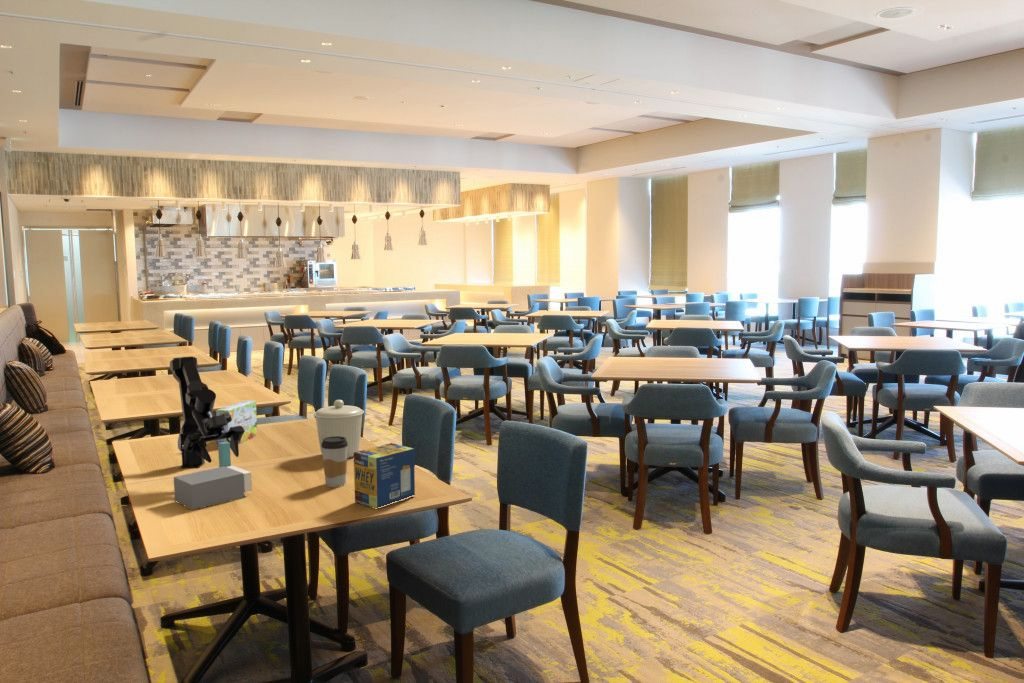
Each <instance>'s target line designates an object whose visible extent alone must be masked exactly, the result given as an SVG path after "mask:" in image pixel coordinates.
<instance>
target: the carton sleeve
mask: <svg viewBox="0 0 1024 683" xmlns="http://www.w3.org/2000/svg"><path fill="white" fill-rule="evenodd" d="M173 487H174V488H173V490H174V491H173V492H174V502H175V501H177V502H179V503H181V504H183V505H185V506H187V507H189V508H188V509H190V508H191V509H190V510H192V509H196V510H199V509H198V508H200V509H202V508H201V507H204V506H208V507H210V506H209V505H212V506H214V505H213V504H216V505H219V504H218V503H220V504H224V503H228V502H232V501H235V500H239V498H240V499H244V498H245V492H244V479H243V473H241V472H238V471H236V470H233V469H230V468H228V467H225V466H223V467H219V466H218V467H214V468H210V469H205V470H200V471H195V472H191V473H186V474H182V475H177V476H174V477H173ZM231 500H232V501H231ZM227 501H228V502H227ZM177 502H176V503H177ZM223 502H224V503H223ZM179 503H178V504H179ZM181 504H180V505H181ZM183 505H182V506H183ZM185 506H184V507H185ZM187 507H186V508H187ZM204 508H205V507H204Z"/></svg>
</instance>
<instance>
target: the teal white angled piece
mask: <svg viewBox="0 0 1024 683" xmlns="http://www.w3.org/2000/svg"><path fill="white" fill-rule="evenodd" d="M217 448H218V450H217V452H218V467H223V466H225V467H228V468H230V469H233V470H236V471H238V472H241V473H243V479H244V493H247V492H252V491H253V489H252V488H253V487H252V486H253V484H252V483H253V482H252V480H253V479H252V472H251V471H248V470H246V469H243V468H240V467H238V466H235V465H231V463H232V461H231V448H230V443H229V442H226V441H224V442H219V443H218V447H217Z"/></svg>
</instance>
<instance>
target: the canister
mask: <svg viewBox="0 0 1024 683" xmlns="http://www.w3.org/2000/svg"><path fill="white" fill-rule="evenodd" d="M344 404H345V403H344V400H342V399H336V400H334V401H333V405H331V406H324V407H322V408H321V407H320V408H319V409H317V411H315V412H313V416H314V417H315V423H316V429H317V435H318V442H319V448H320V452H321V454H322V455H323V452H322V447H321V446H322V442H323V439H324V438H327V437H334V436H341V437H345V438H346V441H347V444H348V446H347V459H349V457H350V458H354V452H358V451H360V444H361V434H362V423H363V414H364V413H365V410H363V409H361V407H358V406H355V405H344Z"/></svg>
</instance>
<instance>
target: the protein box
mask: <svg viewBox="0 0 1024 683" xmlns="http://www.w3.org/2000/svg"><path fill="white" fill-rule="evenodd" d="M353 478H354V479H353V480H354V481H353V482H354V502H355V503H356V502H358V503H357V504H359V503H361V504H360V505H362V504H364V505H363V506H365V505H367V506H366V507H368V506H371V507H374V508H378V507H381V506H384V505H387V504H390V503H392V502H395V501H399V500H401V499H404V498H407V497H409V496H412V495H415V496H416V493H415V492H416V486H415V482H416V481H415V448H413V447H408V446H406V445H401V444H397V443H393V442H390V443H386V444H383V445H379V446H376V447H375V446H374V447H370V448H367V449H362V450H359V451H358V452H354V456H353ZM371 507H370V508H371ZM374 508H373V509H374Z"/></svg>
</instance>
